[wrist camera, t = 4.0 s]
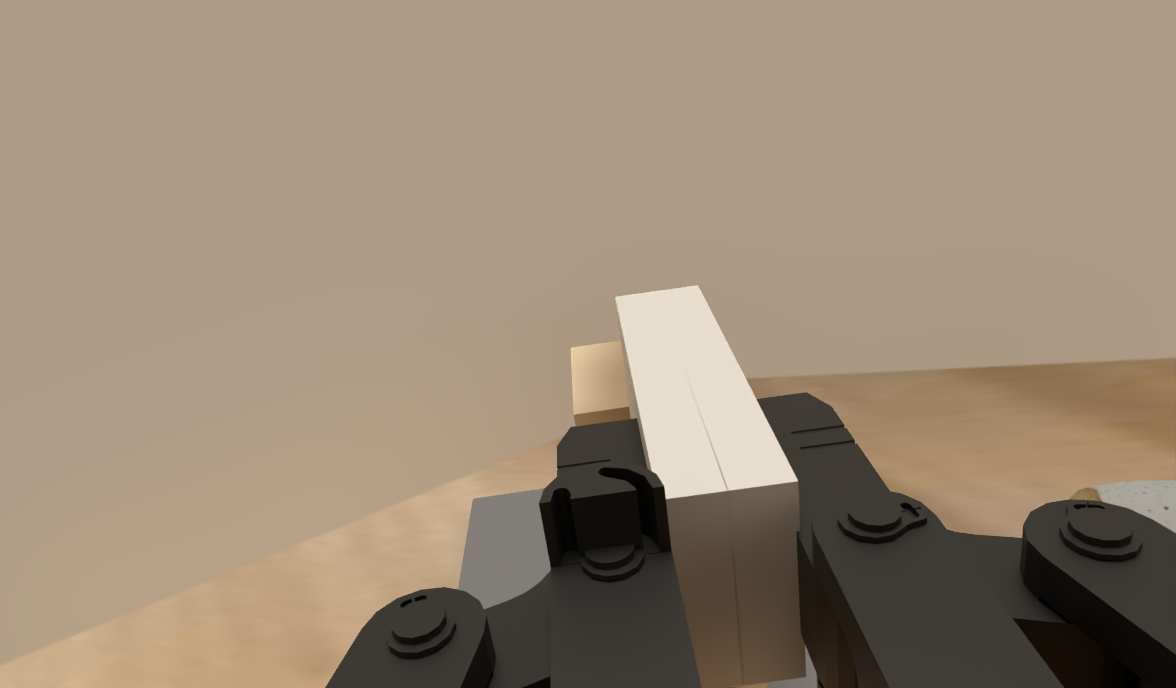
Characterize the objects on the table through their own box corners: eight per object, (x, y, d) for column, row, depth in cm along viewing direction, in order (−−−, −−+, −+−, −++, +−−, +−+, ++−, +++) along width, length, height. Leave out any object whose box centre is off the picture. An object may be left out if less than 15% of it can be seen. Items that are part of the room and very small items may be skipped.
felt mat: (824, 463, 47) (824, 448, 46) (1032, 820, 26) (1034, 798, 26) (476, 513, 47) (472, 498, 47) (417, 902, 27) (410, 882, 26)
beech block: (741, 638, 34) (713, 326, 29) (771, 739, 29) (743, 389, 24) (621, 655, 34) (570, 347, 29) (632, 758, 29) (573, 414, 24)
